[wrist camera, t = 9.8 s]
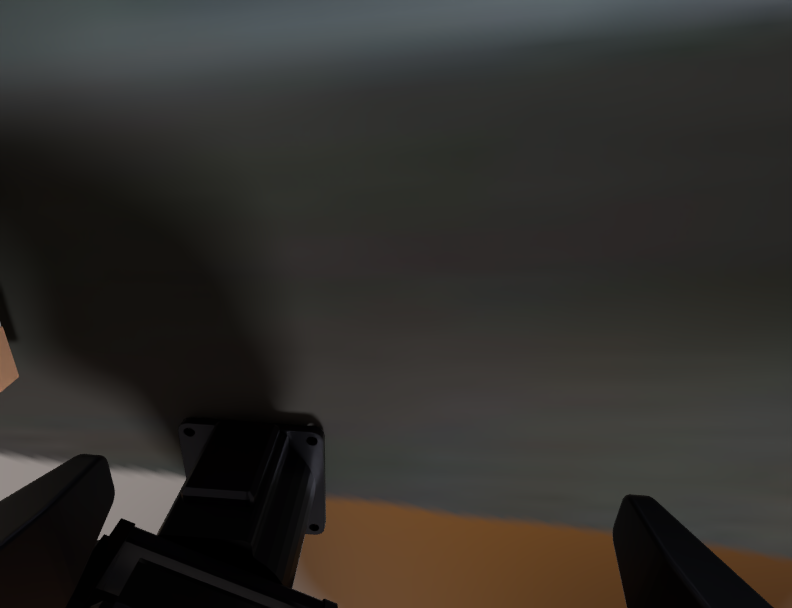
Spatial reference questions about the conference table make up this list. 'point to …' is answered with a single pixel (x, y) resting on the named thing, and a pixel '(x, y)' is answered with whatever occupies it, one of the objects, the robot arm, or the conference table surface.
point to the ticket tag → (6, 362)
